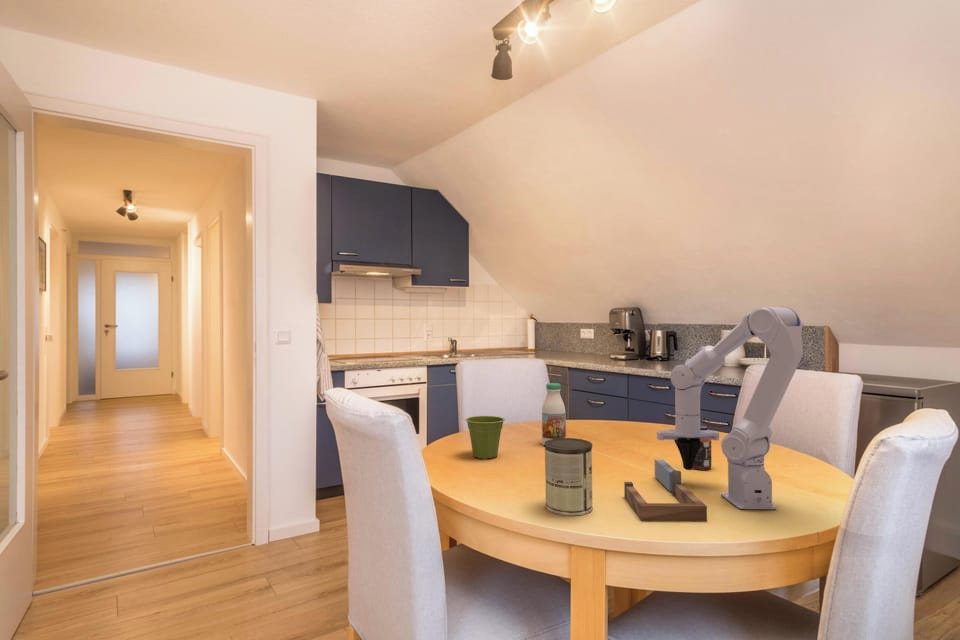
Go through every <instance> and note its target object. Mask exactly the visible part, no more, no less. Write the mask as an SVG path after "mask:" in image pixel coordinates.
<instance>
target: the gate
mask: <svg viewBox="0 0 960 640" xmlns="http://www.w3.org/2000/svg"><path fill="white" fill-rule="evenodd" d="M673 470H676V469H675V468H674V467H673V466H671V465H670V464H669V463H668V462H667V461H666V460H664V459H663V458H654V478H656V479H657V480H658V481H659V482H660V483H661V485H663V487H664V488H666V489H667V490H668V491H669V492H672V471H673Z"/></svg>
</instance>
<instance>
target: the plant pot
mask: <svg viewBox="0 0 960 640" xmlns="http://www.w3.org/2000/svg"><path fill="white" fill-rule="evenodd" d="M464 420H465V421H466V423H467V427H468V431H469V436H470V437H469V438H470V442H471V444H470V445H471V450H472V455H473V457H474V458H478V459H480V458H484V459H483V460H487V459H486V458H490V459H492V458H497V457H498V454H499V453H498V452H499V446H500V440H501V433H502V430H503V425H504V422H505V421H506V418H504V417H500V416H496V415H495V416H493V415H475V416H469V417H466V418H465V419H464ZM496 456H497V457H496Z"/></svg>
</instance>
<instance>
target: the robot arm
mask: <svg viewBox="0 0 960 640" xmlns="http://www.w3.org/2000/svg"><path fill="white" fill-rule="evenodd" d="M803 327H804V322H803V320H802V319H801V317H800V315H799V313H798V312H797V311H796V310H795V309H794V308H792V307H790V306H765V305H763V306H758V307H756V308H754V309H753V310H752V311H751V312H750V313H748V314H746V315H745V316H743V318H742V319H741V321H740V322H739V323H738V324H736V326H734V327H733V328H732V329H731V330H730V331H728V333H727V334H726V335H725V336H724V337H722V339H720V340H719V341H718V342H717V343H716V344H715V345H706V346H700V347H699V348H698V349H697V350H698V352H697V353H695V354H694V355H693V356H692V357H691V358H687V359H686V360H685V361H684V364H678V365H675V366H674V367H673V368H672V370H670V371H671V372H670V375H669V377H670V382H671V384H672V386H673V387H674V391H675V398H674V400H675V402H674V404H675V407H674V408H675V409H674V411H675V413H674V414H675V418H674V419H675V423H674V424H675V426H674V427H675V429H668V430H667V429H666V430H657V431H656V439H657V440H659V441H664V440H673V441H674V443H675V445H676V447H677V450H678V451H679V454H680V457H681V460H682V465H683V469H685V471H692V470H693V468H692V467H693V463H694V460H695V457H696V455H697V453H698V451H699V449H700V448H701V446H702V442H701V441H700V440H711V441H720V432H719V431H716V430H707V431H706V430H700V425H701V394H702V387H703V385H704V384H705V382H706V379H707V378H708V377H709V376H711V375H713V374H714V373H715V372H716V371H717V370H719V369H720V368H722V367H723V366H725V364H726V363H725V362H726V357H727V356H728V355H729V354H731V353H733V351H736V350H737V349H739V348H740V347H741V346H742V345H744V344H745V343H747V342H748V341H750V340H752V339H753V338H758V339H759V340H760V341H761V342H762V343H763V344H764V345H765V347H767V349H768V352H769V353H770V357H769V358H768V361H767V363H766V366H765V367H764V370H763V372H762V374H761V376H760V378H759V381H758V383H757V386H756V388H755V390H754V392H753V393H752V396H751V399H750V400H749V403H748V406H747V408H746V410H745V411H744V415H743V417H742V418H741V419H740V420H739V421H738V422H736V423H735V424H734V425H733V427H732V429H731V431H730V432H729V433H728V434H726V435H725V436H724V437H723V438H722V441H721V445H720V446H721V450H722V454H723V455H724V457H725V458H726V459H727V481H728V482H727V484H728V485H727V486H728V487H727V490H728V492H721V493H720V495H721V496H722V497H723V498H725V499H726V500H727V501H728V502H730V503H731V504H732V505H733V506H735V508H737V509H739V510H777V506H775V505H774V504H773V483H772V478H771V476H770V474H769V473H768V472H767V470H766V469H765V456H766V455H767V454H768V453H769V452H770V449H771V438H772V437H771V436H772V434H773V431H772V429H771V428H770V425H771V423H772V421H773V419H774V417H775V415H776V412H777V411H778V410H779V409H778V408H779V406H780V405H781V402H782V400H783V398H784V396H785V395H786V392H787V389H788V387H789V385H790V383H791V381H792V379H793V377H794V374H795V373H796V370H797V369H798V367H799V364H800V362H801V360H802V358H803V355H804V348H803V347H804V346H803V337H802V330H803Z"/></svg>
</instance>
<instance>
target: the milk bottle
mask: <svg viewBox="0 0 960 640" xmlns="http://www.w3.org/2000/svg"><path fill="white" fill-rule="evenodd" d="M545 386H546V396H545V398H544V401H543V404H542V407H541V444H542V446H544V445H545V444H544V443H545V442H546V441H548V440H551V439H557V438H567V427H566V425H567V419H566V418H567V417H566V415H567V413H566V406H565V404H564V401H563V399H562V396H561V387H562V386H561V383H558V382H549V383H546V385H545Z"/></svg>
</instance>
